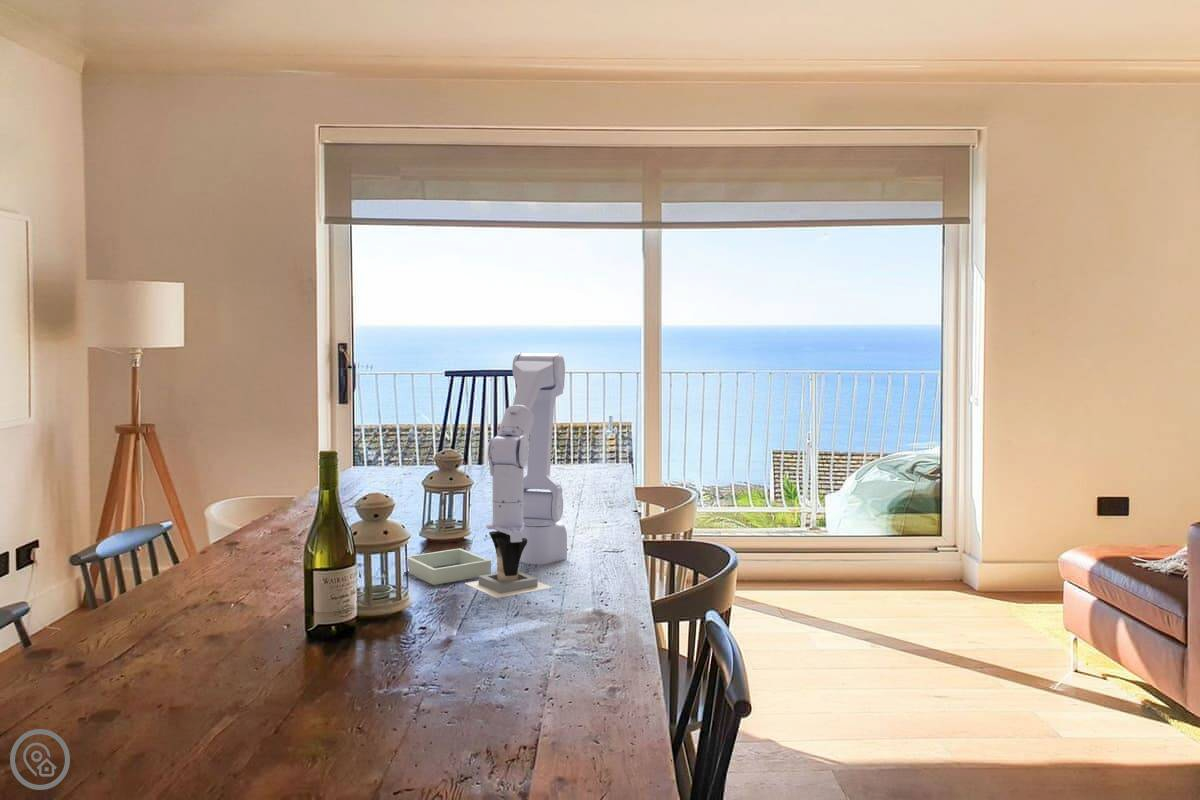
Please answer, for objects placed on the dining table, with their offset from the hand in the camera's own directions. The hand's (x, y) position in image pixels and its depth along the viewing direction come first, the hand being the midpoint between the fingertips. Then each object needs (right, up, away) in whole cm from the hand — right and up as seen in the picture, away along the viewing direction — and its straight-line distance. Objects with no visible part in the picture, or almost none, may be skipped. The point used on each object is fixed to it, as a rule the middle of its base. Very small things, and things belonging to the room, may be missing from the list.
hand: (507, 572), depth 174 cm
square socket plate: (0, -4, 0) cm, 4 cm away
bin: (-13, -3, +9) cm, 16 cm away
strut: (0, -2, 0) cm, 2 cm away
